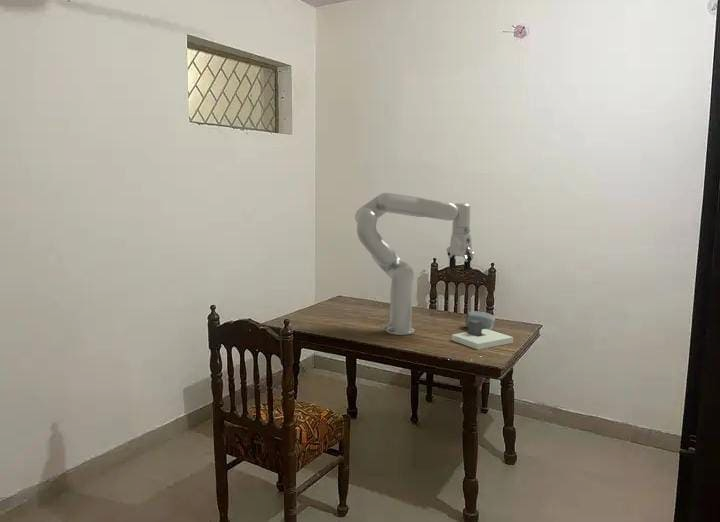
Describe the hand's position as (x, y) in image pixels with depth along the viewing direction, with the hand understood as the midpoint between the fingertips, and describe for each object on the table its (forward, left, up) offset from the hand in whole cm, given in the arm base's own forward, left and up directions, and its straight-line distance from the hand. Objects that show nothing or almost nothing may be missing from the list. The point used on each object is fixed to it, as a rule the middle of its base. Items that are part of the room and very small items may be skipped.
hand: (459, 268), depth 250 cm
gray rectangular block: (-4, -16, -28) cm, 33 cm away
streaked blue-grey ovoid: (+10, -4, -29) cm, 31 cm away
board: (-4, -20, -28) cm, 35 cm away
